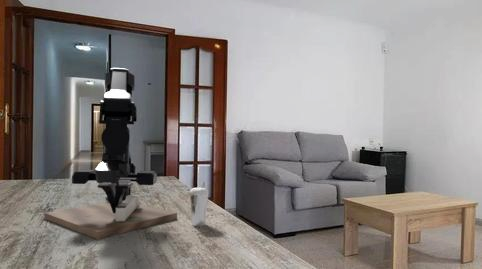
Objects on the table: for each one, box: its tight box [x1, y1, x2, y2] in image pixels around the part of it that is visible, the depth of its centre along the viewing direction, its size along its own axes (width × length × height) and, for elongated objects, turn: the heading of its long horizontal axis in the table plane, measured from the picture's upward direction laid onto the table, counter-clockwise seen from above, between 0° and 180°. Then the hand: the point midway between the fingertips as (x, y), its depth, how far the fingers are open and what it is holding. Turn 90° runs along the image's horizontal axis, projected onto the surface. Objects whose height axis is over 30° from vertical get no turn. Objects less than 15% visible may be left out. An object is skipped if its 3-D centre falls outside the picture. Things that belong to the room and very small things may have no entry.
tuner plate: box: [43, 200, 178, 240], centre depth 88 cm, size 22×25×2 cm
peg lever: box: [116, 194, 141, 221], centre depth 87 cm, size 16×4×3 cm, turn 6°
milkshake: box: [188, 181, 209, 227], centre depth 84 cm, size 4×5×10 cm
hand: (114, 212), depth 83 cm, fingers closed
